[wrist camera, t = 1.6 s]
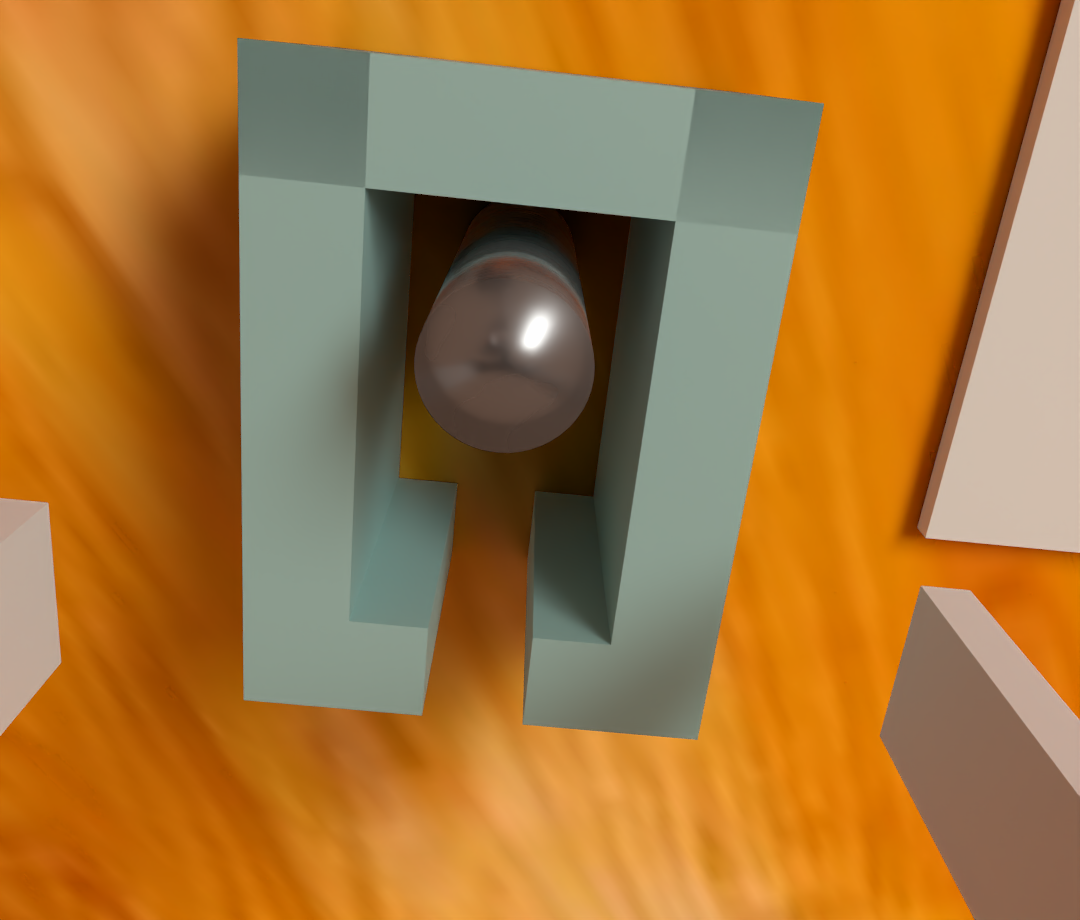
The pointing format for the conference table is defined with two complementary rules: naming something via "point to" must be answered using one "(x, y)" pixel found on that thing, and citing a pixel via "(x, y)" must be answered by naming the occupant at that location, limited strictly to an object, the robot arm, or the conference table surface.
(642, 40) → the conference table surface
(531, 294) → the grey cylinder
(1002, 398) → the mat
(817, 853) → the conference table surface
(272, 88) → the green u-shaped block
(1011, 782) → the robot arm
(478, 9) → the conference table surface
